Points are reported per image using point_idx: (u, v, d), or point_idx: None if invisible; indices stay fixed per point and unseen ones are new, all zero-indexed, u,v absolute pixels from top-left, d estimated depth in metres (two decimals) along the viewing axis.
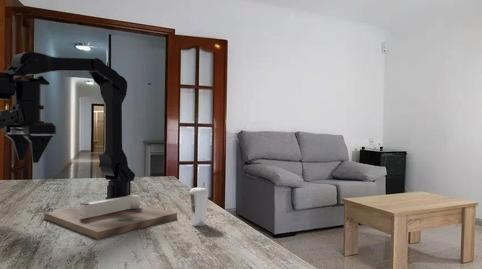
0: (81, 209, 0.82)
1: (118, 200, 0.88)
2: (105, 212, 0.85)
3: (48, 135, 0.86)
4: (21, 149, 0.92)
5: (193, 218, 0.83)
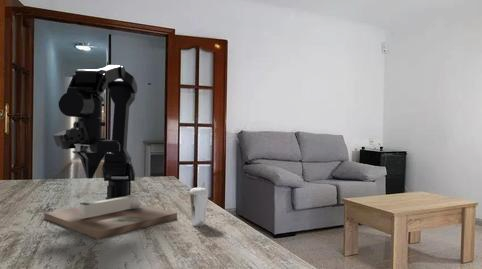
0: (81, 209, 0.82)
1: (118, 200, 0.88)
2: (105, 212, 0.85)
3: (103, 152, 0.88)
4: None
5: (193, 218, 0.83)
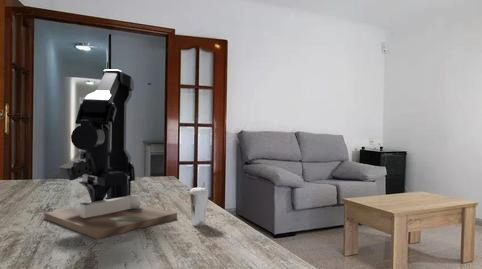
0: (81, 209, 0.82)
1: (118, 200, 0.88)
2: (105, 212, 0.85)
3: None
4: None
5: (193, 218, 0.83)
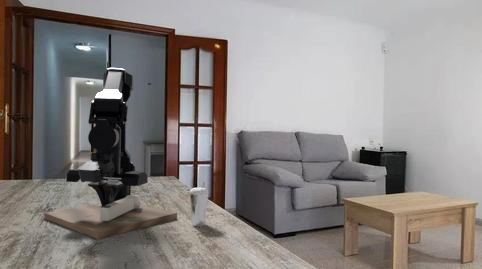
0: (102, 212, 0.79)
1: (127, 201, 0.88)
2: (120, 213, 0.84)
3: None
4: None
5: (193, 218, 0.83)
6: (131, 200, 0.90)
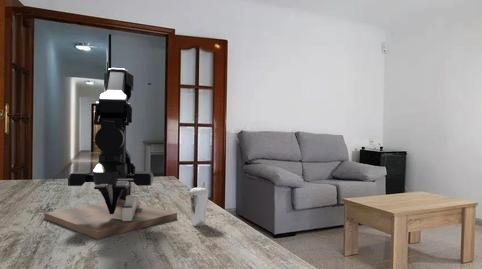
0: (125, 213, 0.79)
1: (135, 200, 0.88)
2: (133, 213, 0.84)
3: (128, 184, 0.85)
4: (111, 201, 0.83)
5: (193, 218, 0.83)
6: None
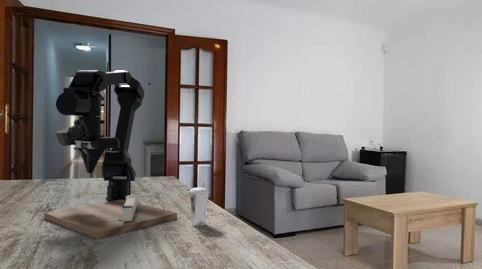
0: (125, 213, 0.79)
1: (135, 200, 0.88)
2: (133, 213, 0.84)
3: None
4: None
5: (193, 218, 0.83)
6: None
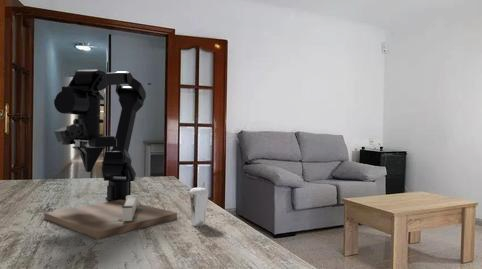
0: (125, 213, 0.79)
1: (135, 200, 0.88)
2: (133, 213, 0.84)
3: (101, 147, 0.94)
4: None
5: (193, 218, 0.83)
6: None
